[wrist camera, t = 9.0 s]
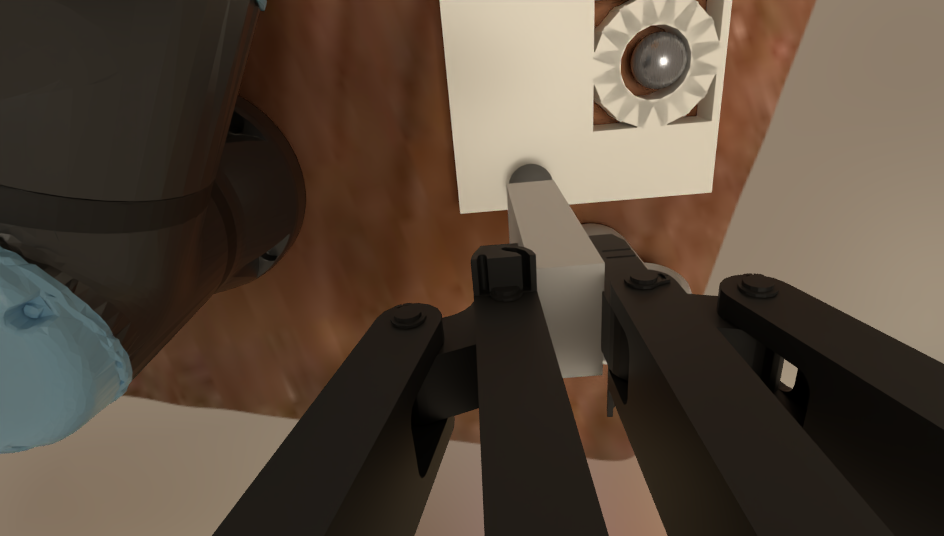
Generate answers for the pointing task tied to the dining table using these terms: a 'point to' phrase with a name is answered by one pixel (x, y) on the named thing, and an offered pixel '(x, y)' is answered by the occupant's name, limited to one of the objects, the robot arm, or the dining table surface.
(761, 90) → the dining table surface
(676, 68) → the ball
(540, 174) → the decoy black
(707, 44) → the board
